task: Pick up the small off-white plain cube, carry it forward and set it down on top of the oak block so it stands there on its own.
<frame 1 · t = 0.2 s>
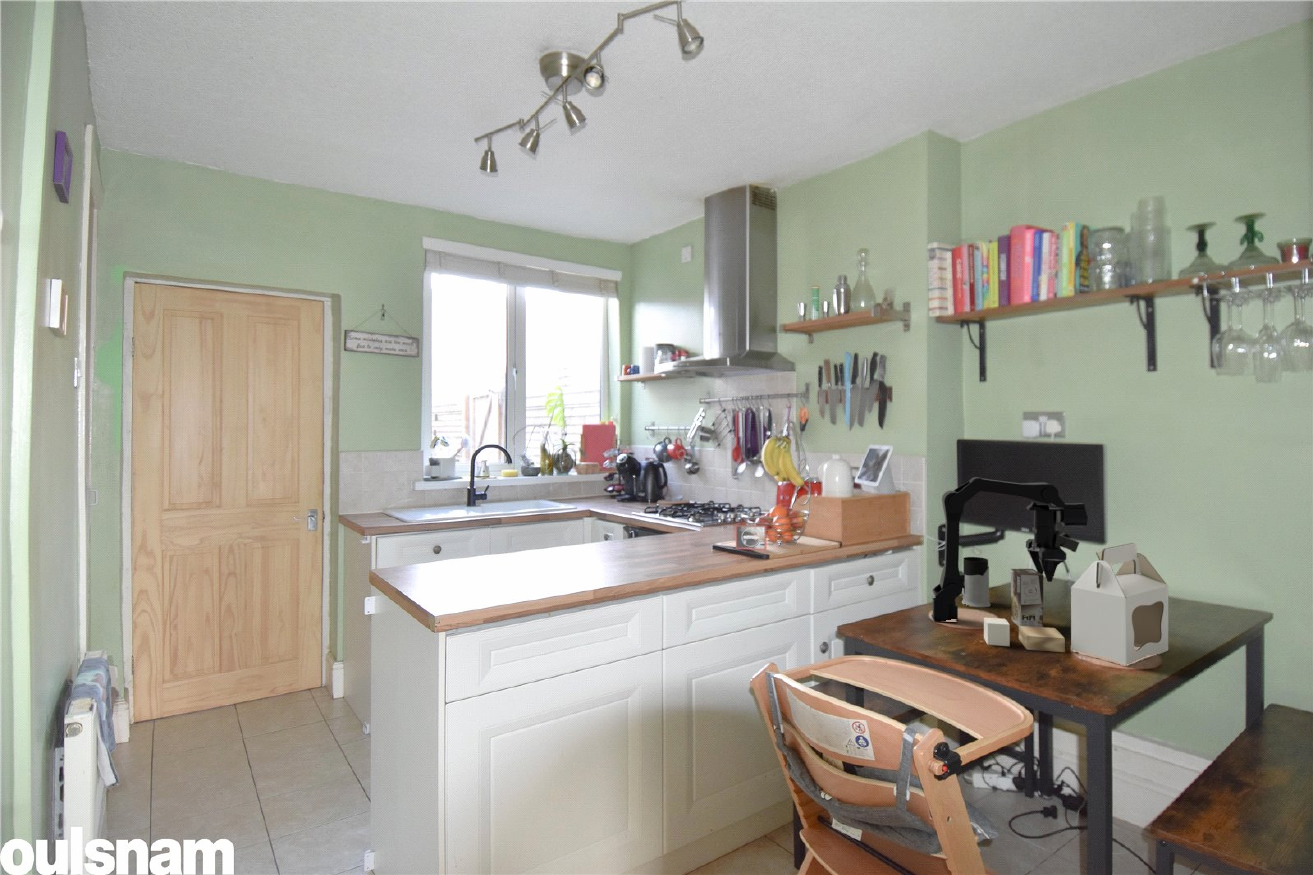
hand: (1045, 578, 197), 14 cm above the table, fingers open, 9 cm apart
off-white plain cube: (996, 642, 185), on the table
coffee box: (1027, 625, 200), on the table
oak block: (1041, 646, 182), on the table
glass holder: (967, 603, 224), on the table
gable box: (1119, 652, 176), on the table
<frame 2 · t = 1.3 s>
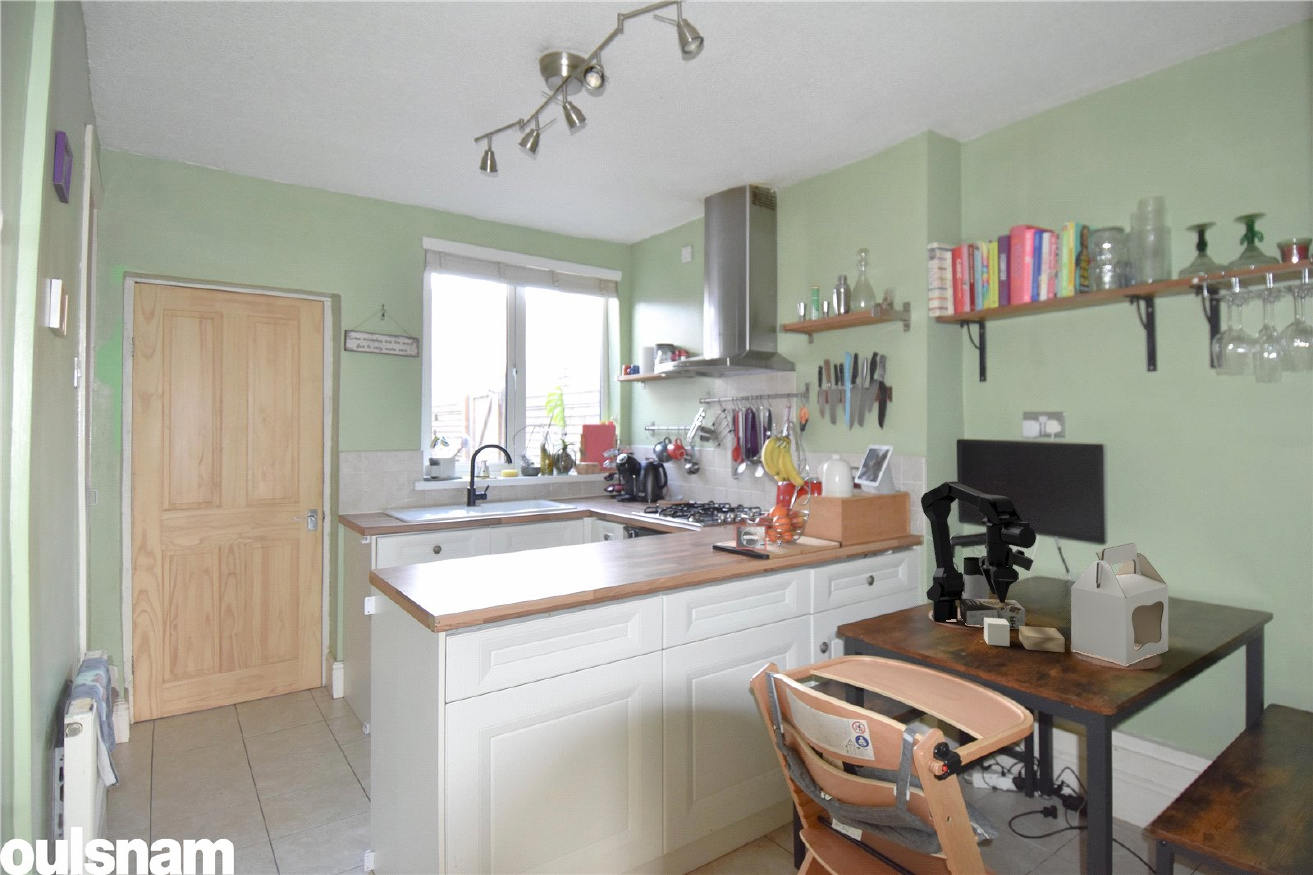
hand: (998, 598, 185), 12 cm above the table, fingers open, 9 cm apart
coffee box: (1021, 614, 199), point 3 cm above the table, touching arm
everything else where it was.
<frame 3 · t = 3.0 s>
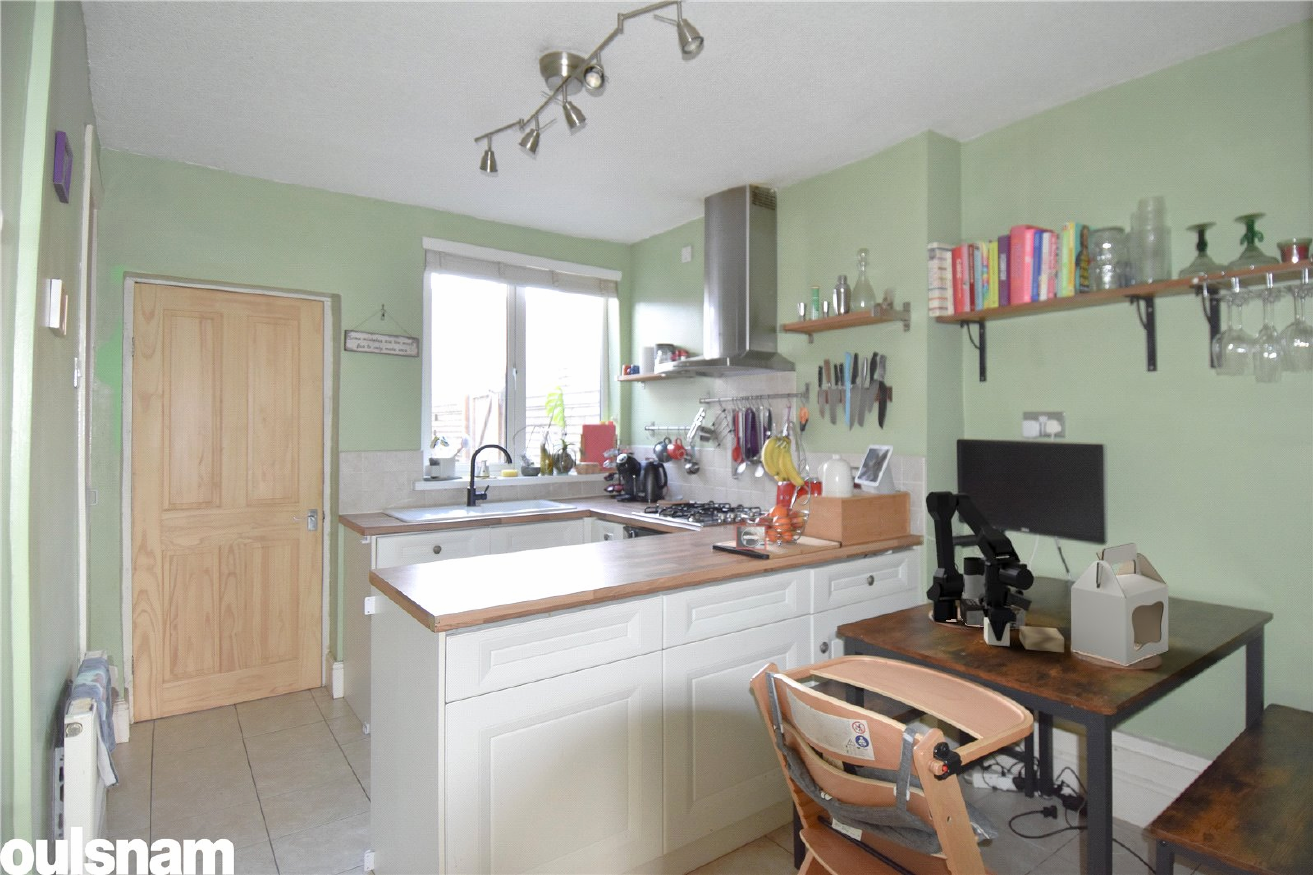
hand: (996, 637, 185), 1 cm above the table, fingers closed on off-white plain cube, 5 cm apart
off-white plain cube: (996, 642, 185), on the table, touching gripper
everything else where it was.
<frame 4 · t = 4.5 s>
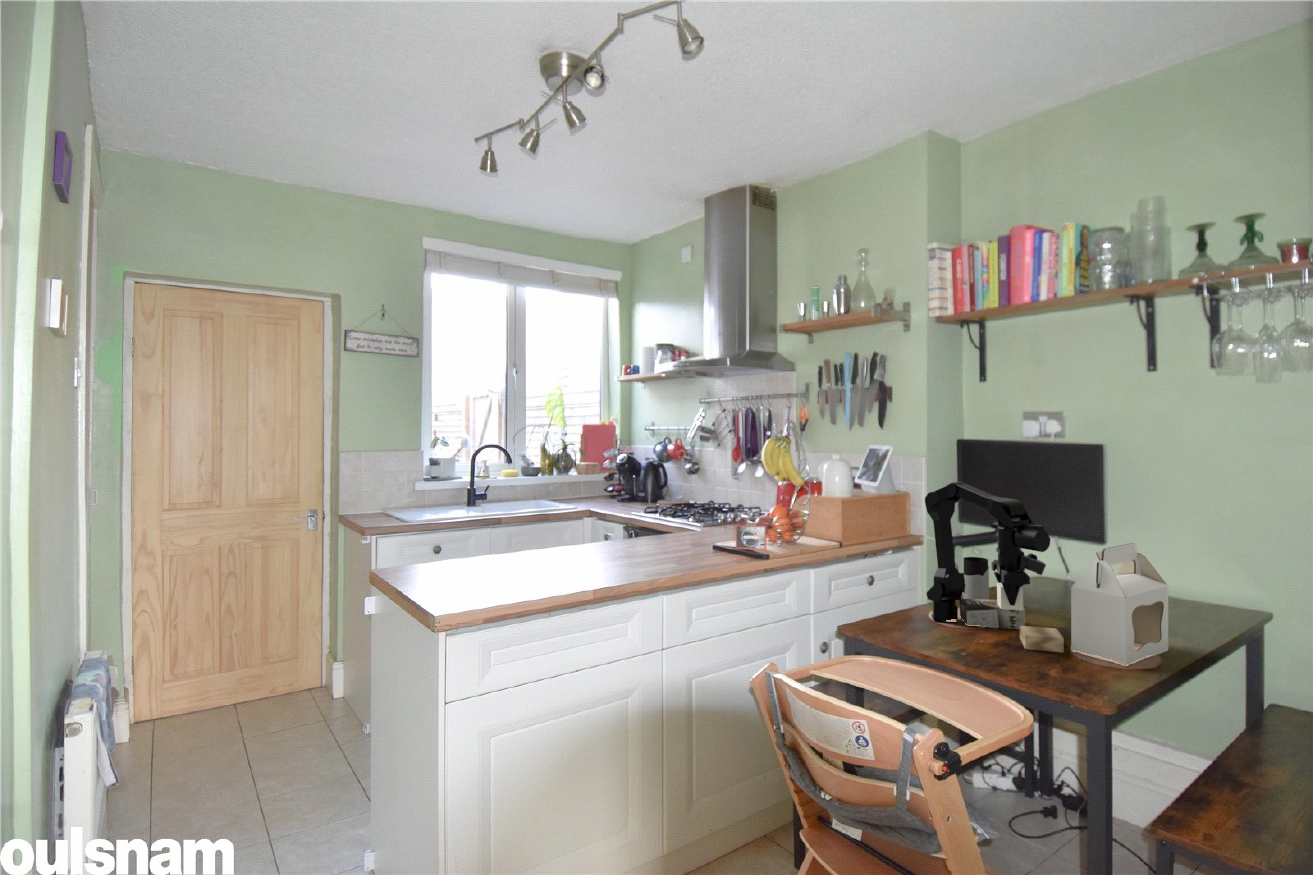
hand: (1010, 602, 183), 11 cm above the table, fingers closed on off-white plain cube, 5 cm apart
off-white plain cube: (1009, 607, 183), point 10 cm above the table, touching gripper
coffee box: (1021, 614, 199), point 3 cm above the table
everything else where it was.
when the fingers open (6 cm above the table, at t = 6.1 s): off-white plain cube stays where it is, point 4 cm above the table.
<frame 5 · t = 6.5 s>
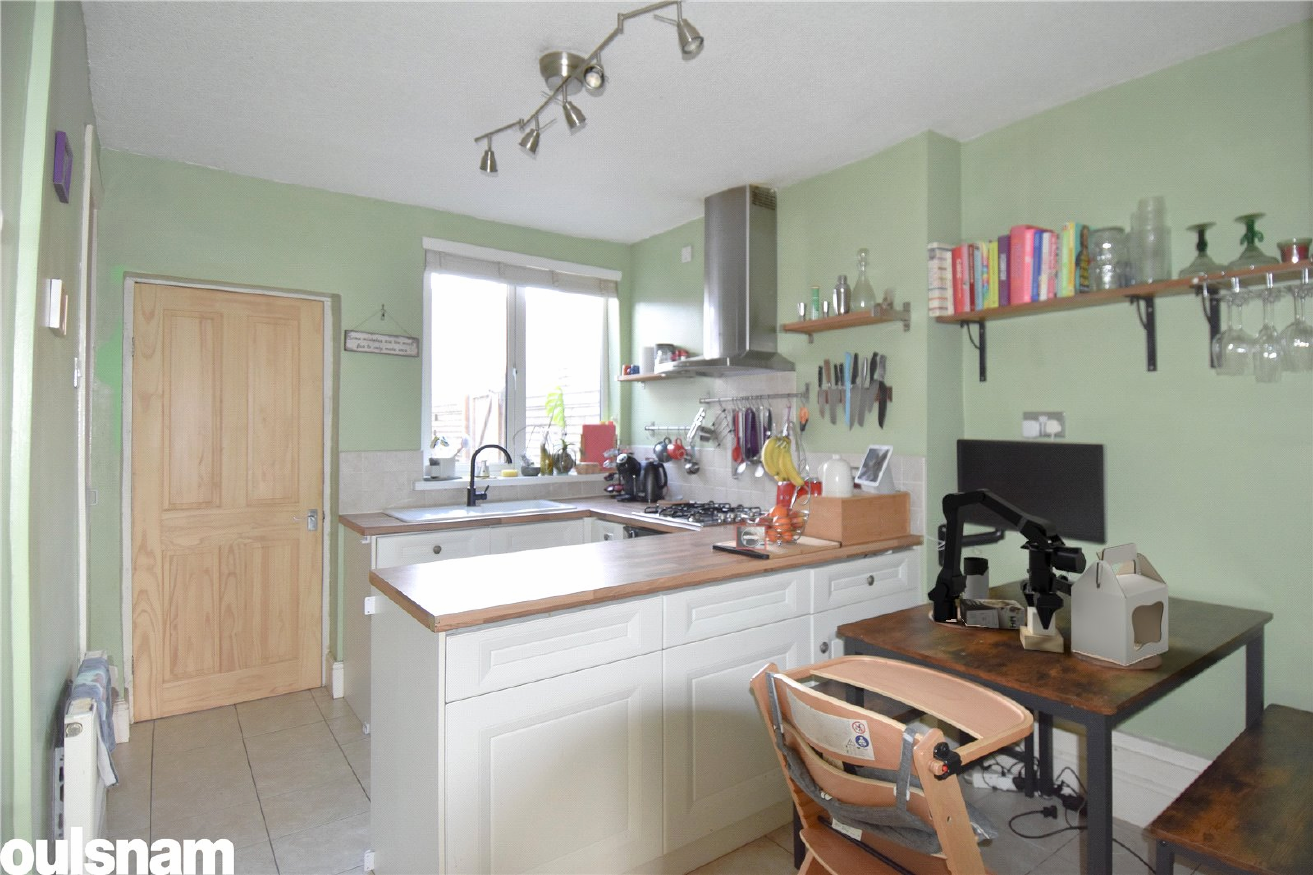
hand: (1040, 624, 182), 6 cm above the table, fingers open, 9 cm apart
off-white plain cube: (1041, 632, 182), point 4 cm above the table
everything else where it was.
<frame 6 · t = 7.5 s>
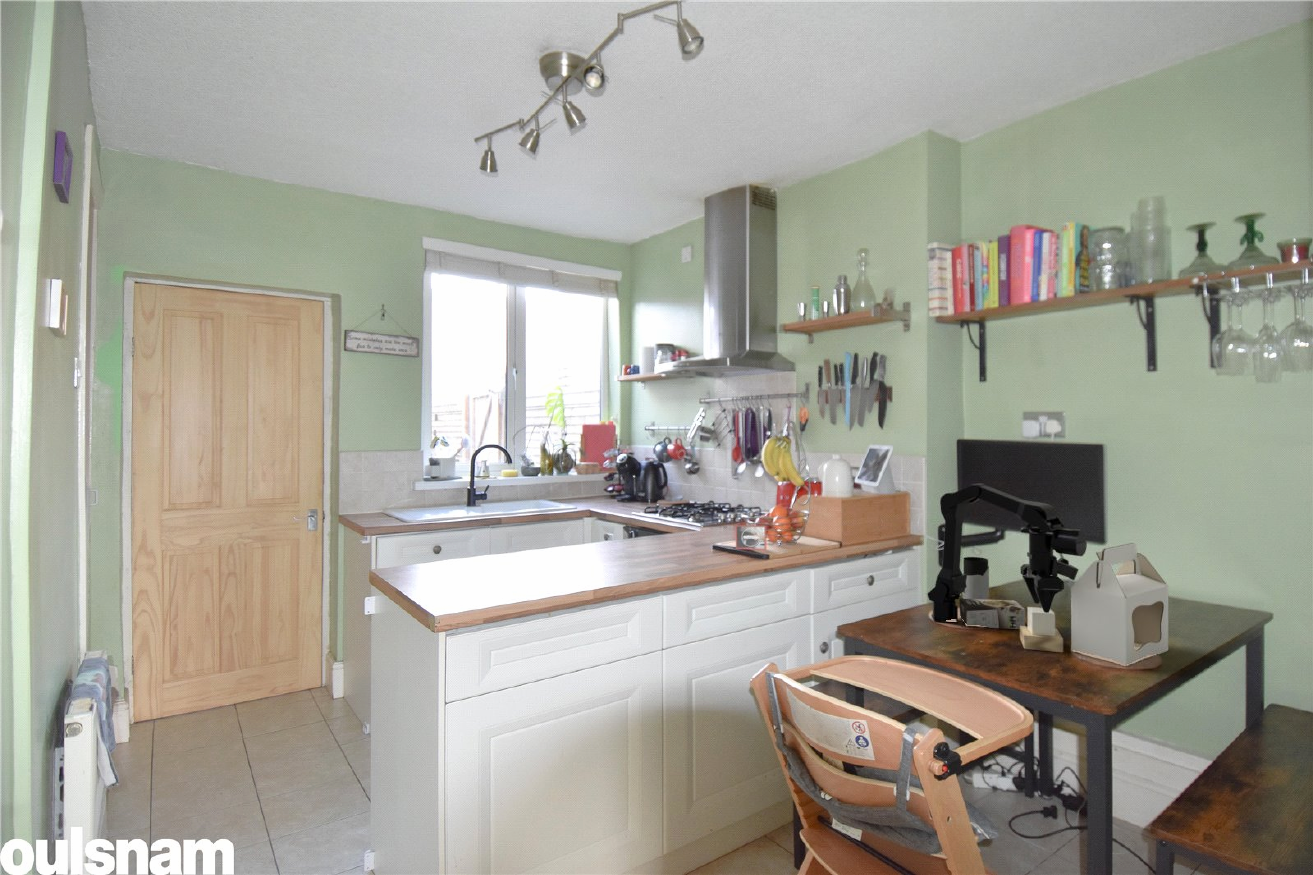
hand: (1041, 607, 181), 10 cm above the table, fingers open, 9 cm apart
nothing on the table moved.
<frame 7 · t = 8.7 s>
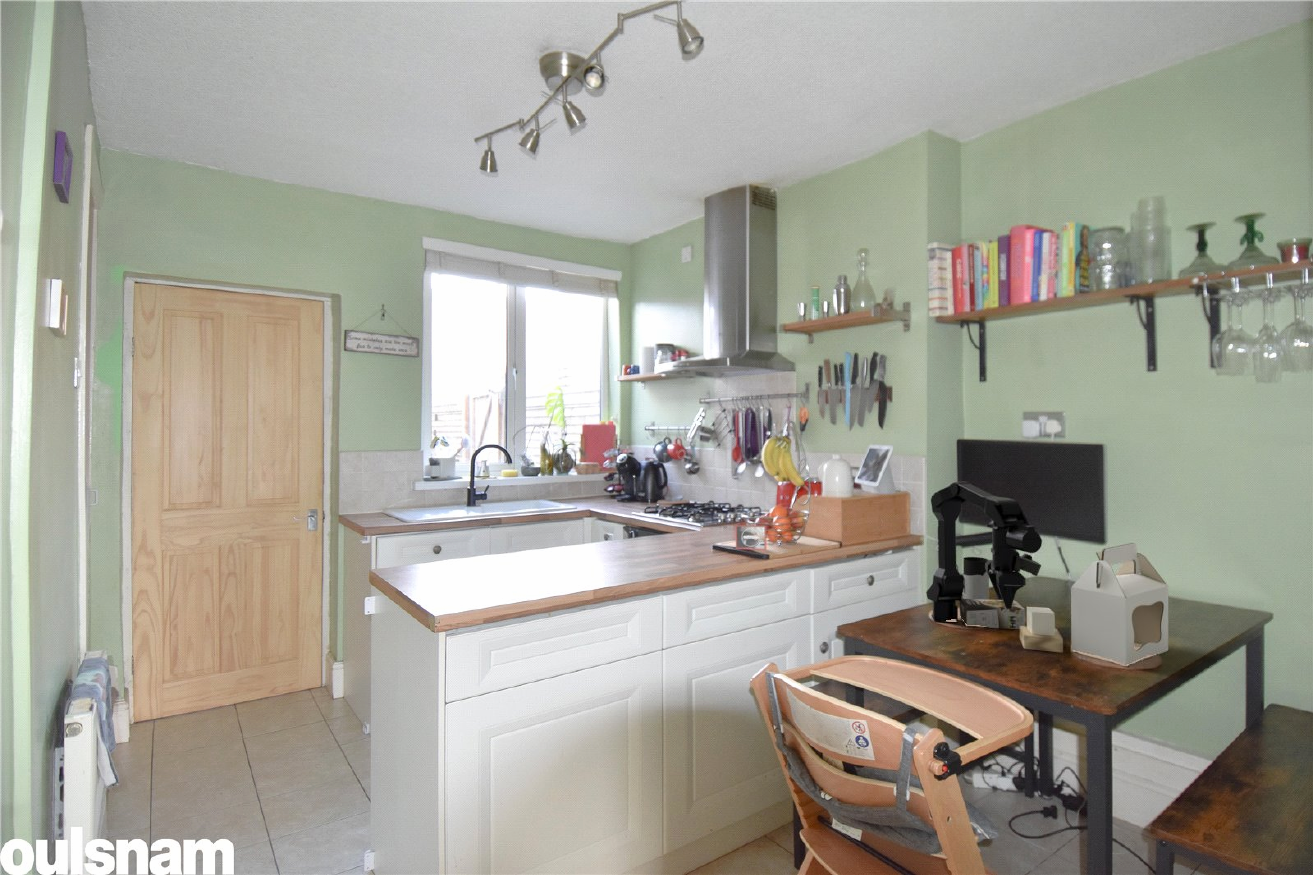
hand: (1004, 604, 179), 12 cm above the table, fingers open, 9 cm apart
nothing on the table moved.
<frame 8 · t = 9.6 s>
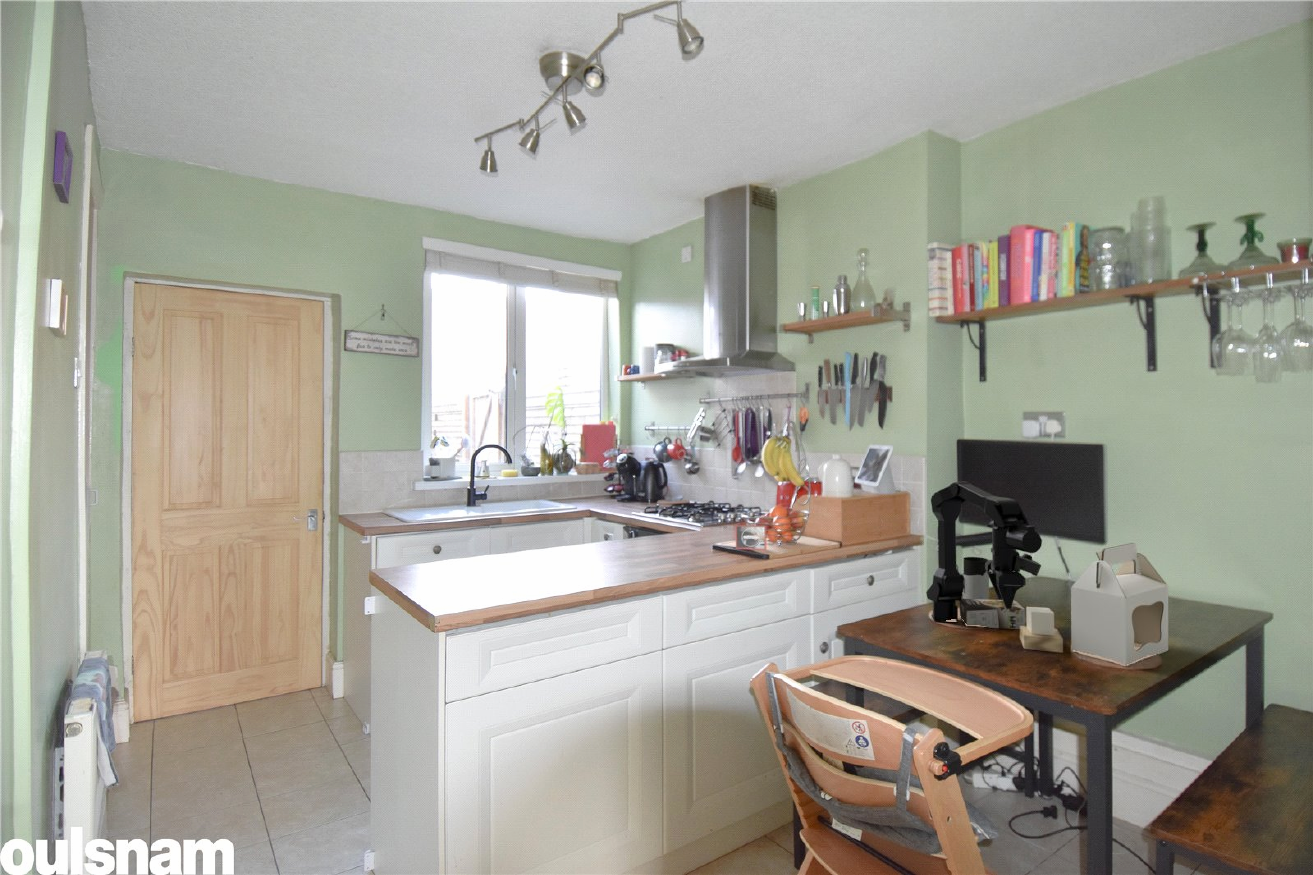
hand: (1004, 604, 179), 12 cm above the table, fingers open, 9 cm apart
off-white plain cube: (1040, 631, 182), point 4 cm above the table, touching oak block
oak block: (1040, 646, 182), on the table, touching off-white plain cube
everything else where it was.
at the end: off-white plain cube 0.1 cm off-centre on the oak block, point 4.0 cm above the oak block's base; off-white plain cube tilted 0°; the gripper is holding nothing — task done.
